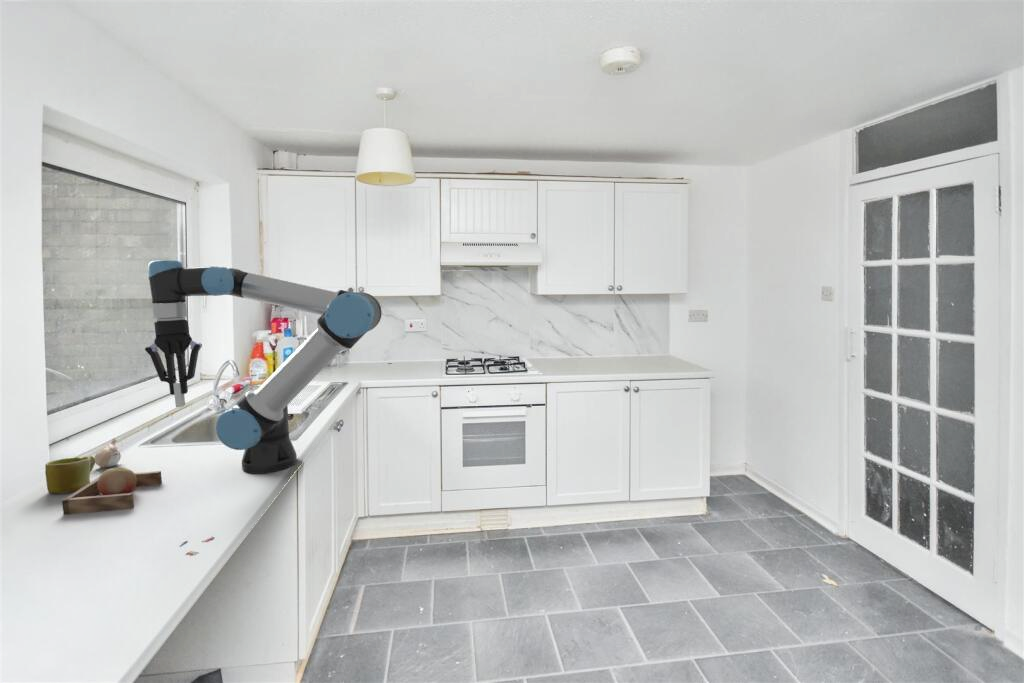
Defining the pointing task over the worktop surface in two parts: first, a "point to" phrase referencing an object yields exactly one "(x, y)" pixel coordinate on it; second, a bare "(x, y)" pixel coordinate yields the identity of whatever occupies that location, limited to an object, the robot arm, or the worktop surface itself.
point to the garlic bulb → (108, 455)
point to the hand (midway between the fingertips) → (180, 405)
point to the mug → (68, 474)
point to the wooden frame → (106, 496)
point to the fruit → (117, 481)
